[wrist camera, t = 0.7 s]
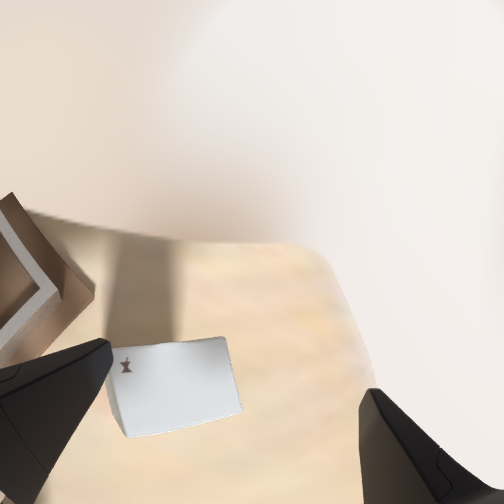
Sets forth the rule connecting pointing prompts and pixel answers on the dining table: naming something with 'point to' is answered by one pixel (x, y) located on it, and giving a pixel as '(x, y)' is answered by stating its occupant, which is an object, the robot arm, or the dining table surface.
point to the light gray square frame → (36, 308)
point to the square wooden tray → (22, 289)
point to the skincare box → (171, 386)
